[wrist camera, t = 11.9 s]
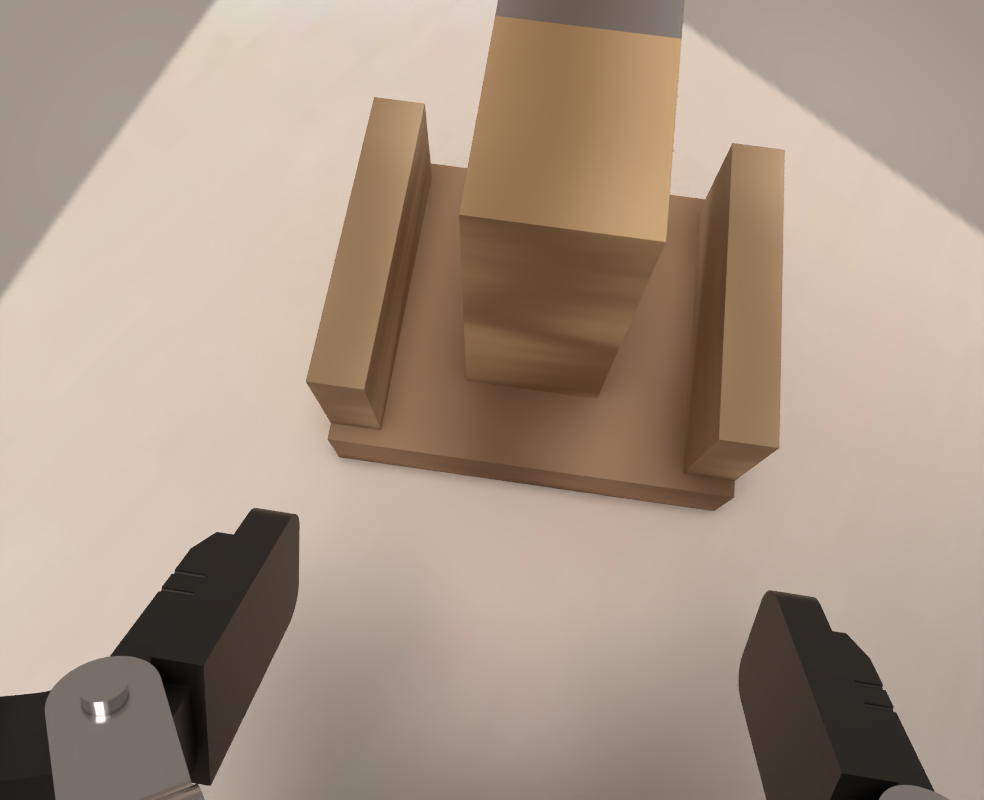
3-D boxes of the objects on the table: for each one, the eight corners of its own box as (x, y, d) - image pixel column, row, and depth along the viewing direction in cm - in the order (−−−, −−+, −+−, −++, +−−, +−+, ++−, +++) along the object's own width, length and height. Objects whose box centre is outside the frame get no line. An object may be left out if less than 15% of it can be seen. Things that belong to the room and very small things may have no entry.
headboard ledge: (726, 236, 27) (784, 135, 22) (713, 510, 24) (778, 467, 19) (396, 193, 28) (377, 83, 23) (339, 456, 24) (301, 399, 19)
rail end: (616, 215, 25) (685, -15, 17) (597, 398, 23) (665, 241, 15) (496, 199, 25) (505, -37, 17) (466, 380, 23) (458, 214, 15)
